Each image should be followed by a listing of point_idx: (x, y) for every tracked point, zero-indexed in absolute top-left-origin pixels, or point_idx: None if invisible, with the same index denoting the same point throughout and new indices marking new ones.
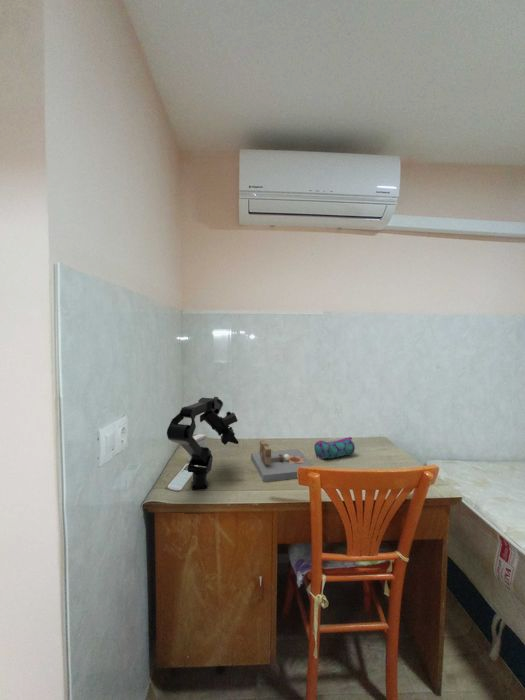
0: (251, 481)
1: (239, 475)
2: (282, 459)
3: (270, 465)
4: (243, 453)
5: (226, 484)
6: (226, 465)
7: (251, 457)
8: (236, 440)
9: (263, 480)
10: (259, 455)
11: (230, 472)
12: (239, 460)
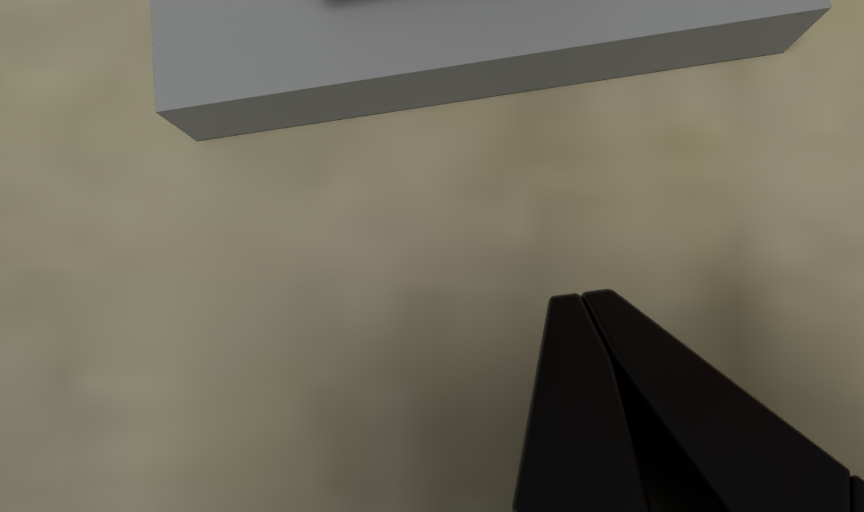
0: (766, 177)
1: None
2: None
3: None
4: (35, 224)
5: None
6: (344, 459)
7: (203, 129)
8: (702, 376)
9: (793, 41)
10: (249, 10)
11: None
12: (225, 285)
